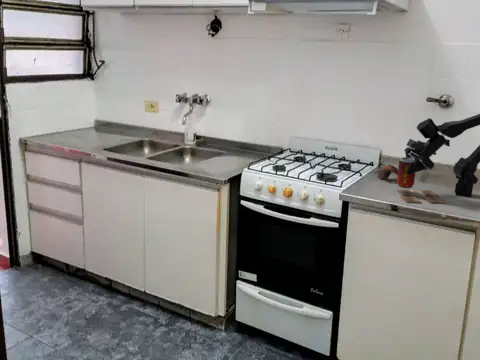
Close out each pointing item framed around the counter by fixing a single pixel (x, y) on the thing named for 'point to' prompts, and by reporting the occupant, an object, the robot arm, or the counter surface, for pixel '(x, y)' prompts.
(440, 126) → the robot arm
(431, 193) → the brown wooden board
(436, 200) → the lane broken
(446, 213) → the counter surface
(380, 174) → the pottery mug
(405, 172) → the soda can
